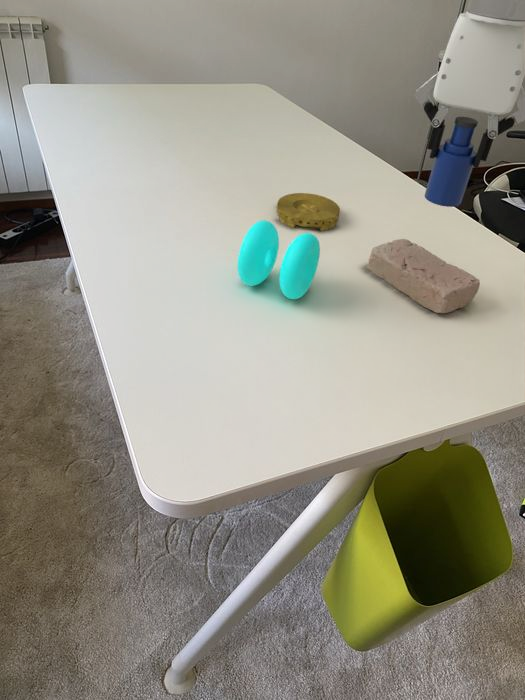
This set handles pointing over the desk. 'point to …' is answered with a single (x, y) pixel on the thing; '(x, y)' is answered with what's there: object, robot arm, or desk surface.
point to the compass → (308, 211)
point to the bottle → (453, 165)
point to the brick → (423, 276)
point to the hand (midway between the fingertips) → (454, 158)
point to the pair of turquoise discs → (263, 252)
